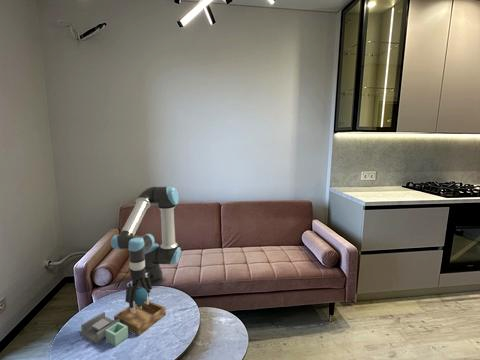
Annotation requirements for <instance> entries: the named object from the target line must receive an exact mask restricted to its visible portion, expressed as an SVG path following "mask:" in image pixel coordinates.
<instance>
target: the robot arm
mask: <svg viewBox="0 0 480 360" xmlns="http://www.w3.org/2000/svg"><path fill="white" fill-rule="evenodd" d="M179 199H180V198H179V193H178V190H177V188H176V187H175V186H149V187H148V188H146V189H145V190H143V191H142V192H141V193H140V194H138V196H137V198H136V199H135V206H134V207H133V209H132V211H131V212H130V215H129V216H128V218H127V219H126V222H125V224H124V226H123V227H122V230H121V231H120V233H119V234H115V235H113V236H112V238H111V240H110V245H111V247H112V249H116V250H128V256H129V272H130V273H129V275H130V277H131V278H130V280H129V282H126V283H125V286H126V289H125V290H126V291H125V303H128V305H129V306H128V307H130V308H131V312H132V313H134V314H135V313H136V312H135V301H134V297H135V293H136V290H137V288H138V287H140V285H141V287H142V288H145V289H146V291H147V294H148V295H147V299H146V300H145V302H144V303H145V304H147V305H148V304H149V298H150V293H151V290H152V289H153V287H152V283H153V282H156V281H159V280H160V279H162V278H163V271H162V268H161V265H170V266H171V265H172V266H173V265H174V266H175V265H178V263H179V262H180V258H181V253H182V248H181V247H179V245H178V243H177V242H176V231H175V230H176V228H175V211H174V210H175V208H176V206H177V205H178V204H179ZM152 205H157V208H158V209H159V210H160V224H161V226H160V227H161V244H160V245H159V244H158V243H156V242H155V237H154V235H152V234H151V233H146V234H143V235H136V232H137V230H138V229H139V226H140V225H141V223H142V220H143V218H144V216H145V215H146V212H147V210H148V209H149V208H150V207H151V206H152Z"/></svg>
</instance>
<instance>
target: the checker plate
mask: <svg viewBox="0 0 480 360" xmlns="http://www.w3.org/2000/svg"><path fill="white" fill-rule="evenodd" d="M109 324H110V322H108V321H106V320H104V319H102V320H100V321H98V322H97V323H95V324H93V325H92V328H94V329H96V330H98V331H100V330H102V329H103V328H105V327H106V326H108V325H109Z"/></svg>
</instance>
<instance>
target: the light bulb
mask: <svg viewBox="0 0 480 360" xmlns="http://www.w3.org/2000/svg"><path fill="white" fill-rule="evenodd" d="M147 295H148V294H147V291H146V289H145V288H143V287H142V286H138V288H137V290H136V293H135V297H134V301H135V304H137V306H138V309H139V310H140V309H141V308H142V303H143V302H145V300H146V299H147Z"/></svg>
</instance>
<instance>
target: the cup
mask: <svg viewBox="0 0 480 360" xmlns="http://www.w3.org/2000/svg"><path fill="white" fill-rule="evenodd" d="M105 333H106V340H105V342H107V343H109V344H110V345H112V346H114V347H115V348H116V347H118V346H119V345H120V344H121V343H123V342H124V341H126V340H127V339H128V338H129V331H128V326H126V325H124V324H122V323H120V322H117V323H115V324H114V325H112V326H111V327H109V328H108V329H106V330H105Z"/></svg>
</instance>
